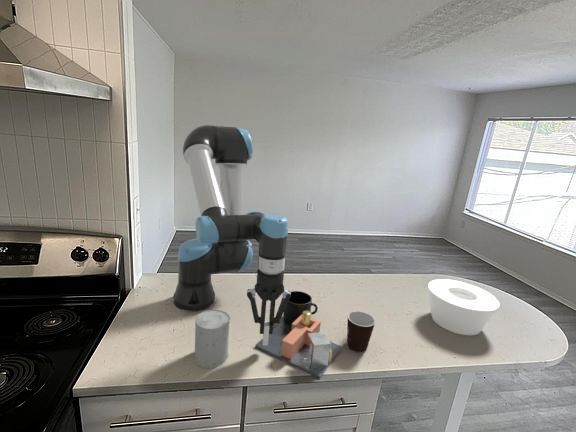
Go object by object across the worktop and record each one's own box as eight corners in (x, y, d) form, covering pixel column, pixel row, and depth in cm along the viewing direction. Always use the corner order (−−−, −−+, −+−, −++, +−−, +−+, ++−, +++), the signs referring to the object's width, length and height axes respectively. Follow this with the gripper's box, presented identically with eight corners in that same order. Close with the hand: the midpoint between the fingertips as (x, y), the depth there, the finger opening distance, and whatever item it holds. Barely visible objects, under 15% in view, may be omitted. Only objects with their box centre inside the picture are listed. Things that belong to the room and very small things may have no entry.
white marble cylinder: (197, 345, 99) (198, 309, 96) (229, 345, 100) (231, 310, 97) (191, 367, 90) (192, 328, 87) (226, 368, 91) (228, 329, 88)
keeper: (305, 354, 98) (308, 333, 96) (325, 352, 99) (328, 331, 98) (311, 367, 93) (314, 345, 91) (332, 365, 94) (335, 343, 92)
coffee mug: (365, 358, 100) (370, 330, 97) (339, 347, 104) (343, 319, 101) (376, 340, 109) (381, 313, 107) (352, 330, 114) (356, 304, 111)
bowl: (487, 316, 131) (494, 289, 128) (495, 350, 110) (505, 318, 107) (423, 299, 141) (429, 274, 138) (420, 327, 119) (427, 297, 116)
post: (298, 336, 106) (301, 313, 104) (302, 332, 109) (305, 309, 107) (306, 339, 105) (309, 316, 103) (310, 335, 107) (312, 312, 105)
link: (296, 361, 94) (297, 347, 93) (275, 352, 98) (277, 337, 96) (319, 334, 108) (320, 321, 107) (300, 327, 111) (301, 314, 110)
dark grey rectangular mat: (255, 347, 100) (255, 344, 100) (282, 323, 114) (282, 321, 114) (319, 378, 90) (320, 376, 90) (341, 348, 103) (341, 346, 103)
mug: (318, 328, 113) (321, 305, 111) (284, 327, 111) (286, 304, 109) (313, 313, 122) (316, 291, 120) (281, 312, 121) (283, 290, 118)
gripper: (247, 274, 88) (242, 350, 93) (295, 276, 89) (288, 351, 95) (248, 263, 95) (244, 334, 101) (292, 265, 96) (286, 335, 102)
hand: (265, 342), depth 98 cm, fingers closed
